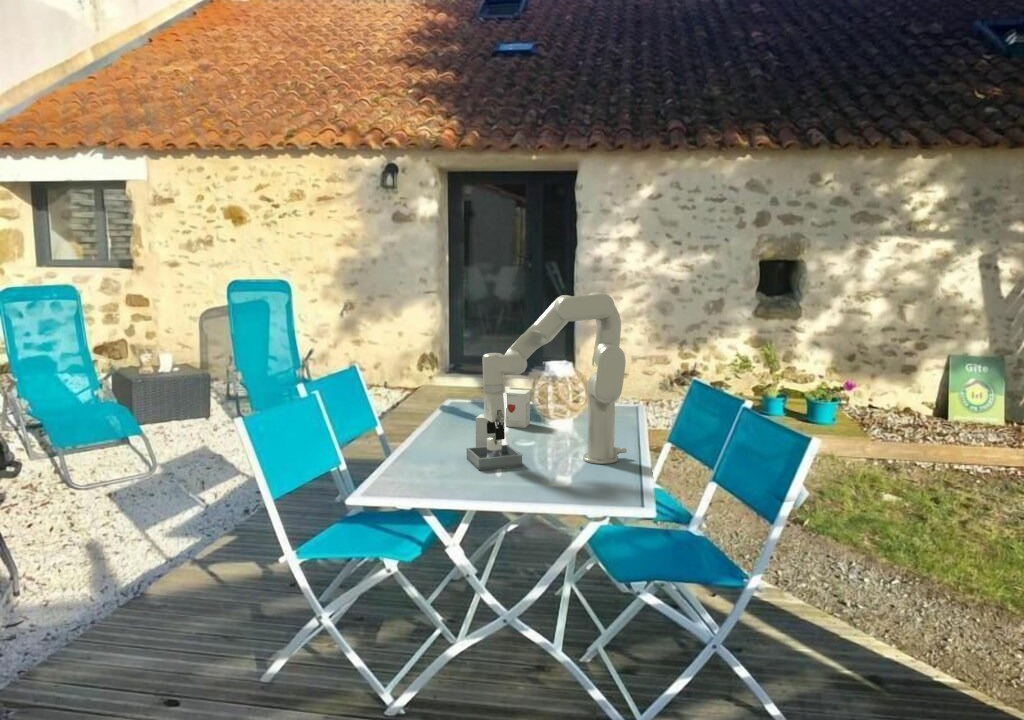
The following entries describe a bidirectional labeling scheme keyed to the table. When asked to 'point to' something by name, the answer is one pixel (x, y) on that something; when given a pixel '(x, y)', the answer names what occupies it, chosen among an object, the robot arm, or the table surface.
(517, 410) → the supplement box
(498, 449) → the tin can
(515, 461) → the tray
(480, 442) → the supplement box
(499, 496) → the table surface
